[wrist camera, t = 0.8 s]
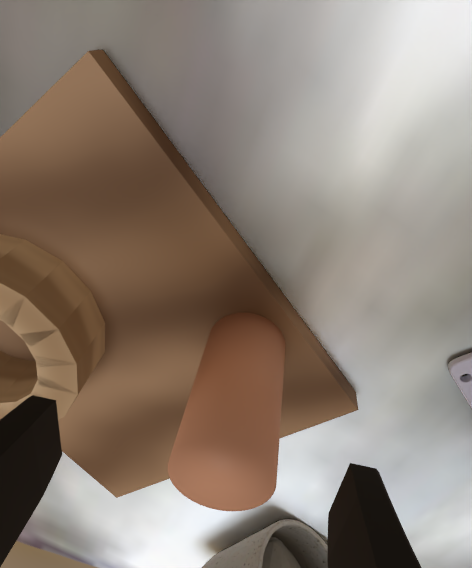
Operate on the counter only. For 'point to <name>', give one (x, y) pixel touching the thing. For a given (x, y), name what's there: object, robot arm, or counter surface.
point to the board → (142, 273)
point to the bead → (46, 327)
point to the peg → (232, 417)
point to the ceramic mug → (275, 549)
